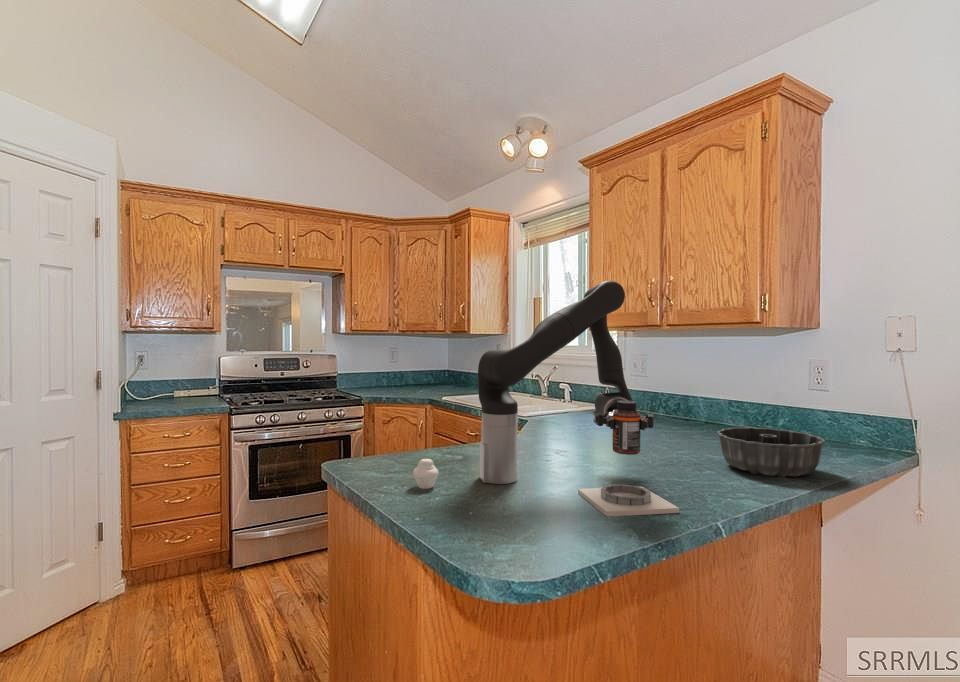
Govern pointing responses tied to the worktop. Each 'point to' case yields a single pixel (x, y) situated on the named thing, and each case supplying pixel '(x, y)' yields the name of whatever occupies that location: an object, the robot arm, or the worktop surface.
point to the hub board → (612, 509)
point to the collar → (628, 501)
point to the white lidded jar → (425, 474)
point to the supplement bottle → (626, 428)
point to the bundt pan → (771, 451)
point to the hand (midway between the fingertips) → (627, 424)
